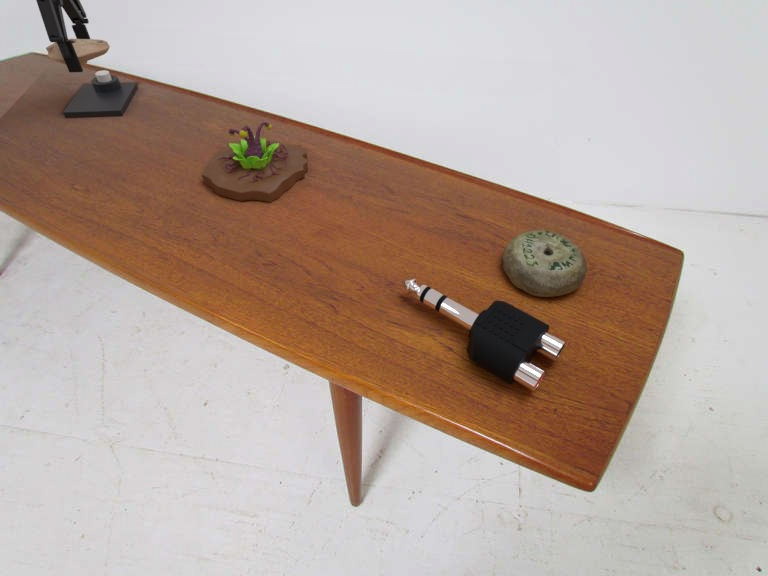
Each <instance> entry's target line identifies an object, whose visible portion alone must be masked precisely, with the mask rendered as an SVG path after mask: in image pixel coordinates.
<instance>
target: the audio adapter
mask: <svg viewBox="0 0 768 576" xmlns="http://www.w3.org/2000/svg"><path fill="white" fill-rule="evenodd" d="M401 285H402V286H403V288H404V291H405V293H406V295H412V294H415V300H417V301H418V302H420V303H422V304H423V305H425V306H426V307H429V308H430V309H432V310H433V311H436V312H437V313H439V314H441V316H444V317H446V318H447V319H449V320H451V321H453V322H455V323H456V324H458V325H460V326H461V327H463V328H465V329H466V330H468V331H469V332H468V342H467V346H466V352H467V357H468V359H469V360H470V361H471V362H473V363H475V364H476V365H478V366H479V367H481V368H483V369H484V370H486V371H487V372H489V373H491V374H493V375H494V376H496V377H497V378H499V379H500V380H502V381H504V382H505V383H507V384H509V385H512V384H513V383H514V382H517V383H518V384H520V385H522V386H524V387H525V388H527V389H528V390H530V391H531V392H535V390H536V389H537V388H538V387H539V385H540V383H541V382H542V380H543V378H544V376H545V373H546V371H545V370H544V369H542V368H541V367H539V366H537V365H535V364H533V363H532V362H530V361H531V360H532V359H533V358H534V356H535V355H536V353H539V354H541V355H542V356H544V357H546V358H548V359H549V360H551V361H553V362H556V361H557V359H559V356H561V354H562V352H563V350H564V348H565V346H566V344H567V342H566V341H565V340H563V339H562V338H560V337H557V336H556V335H554V334H552V333H550V332H549V330H550V324H548V323H546V322H544V321H542V320H540V319H539V318H536V317H535V316H533V315H531V314H529V313H527V312H526V311H523V310H521V308H520V309H519V308H518V307H516V306H514V305H513V304H510V303H509V302H506V301H503V300H494V301H493V302H492V303H491V304H490V305H489V306H488V307H487V308H486V309H483V310H482V311H481V312H480V313H478V312H476V311H474V310H473V309H471V308H469V307H468V306H465V305H464V304H462V303H460V302H458V301H457V300H456V299H455V300H454V299H453V298H451V297H449V296H447V295H446V294H444V293H442V292H440V291H438V290H437V289H435V288H433V287H431V286H430V285H428V284H425V283H424V284H422V285H419V284H418V279H417V278H409V279H403V280H401Z"/></svg>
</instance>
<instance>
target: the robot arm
mask: <svg viewBox="0 0 768 576" xmlns="http://www.w3.org/2000/svg"><path fill="white" fill-rule="evenodd" d="M35 1H36V3H37V6H38V10H39V12H40V16H41V19H42V22H43V26H44V28H45V31H46V35H47V37H48V40H49V42H50V43H55V42H57V44H58V47H59V49H60V51H61V54H62V56H63V58H64V61H65V63H66V64H65V65H66V68H67V71H68V72H69V73H83V72H84V68H83V67H82V66H83V65H81V64H80V62H79V59H78V57H77V54H76V52H75V49H74V47H73V44H72V42H71V40H68V39H69V37H68V33H67V29H66V28H67V27H66V23H65V19H64V13H63V11H64V12H65V13H66V15H67V17H68V18H69V21H71V23H72V25H71V28H72V31H73V33H74V35H75V39H91V36H90V34H89V31H88V29H87V26H86V25H88V24H89V23H90V22H89V18H87V13H86V11H85V8H84V7H83V5H82V2H81V0H35Z"/></svg>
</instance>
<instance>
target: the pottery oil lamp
mask: <svg viewBox="0 0 768 576" xmlns="http://www.w3.org/2000/svg"><path fill="white" fill-rule="evenodd" d="M68 40H71V42H72V44H73V47H74V49H75V52H76V54H77V57H78V59H79V62H80V64H81V66H84V65H86V64H88V62H89V61H91V60H94V59H96V58H99V57H101V56H104V55H105V54H107V53H108V51H109V49H110V47H111V46H110V44H109V43H108V41H106V40H103V39H94V38H90V39H77V38H68ZM45 50H46V51H47V56H48V58H49V59H51V60H53V61H55V62H58V63H60V64H62V65H66V63H65V61H64V58H63V56H62V54H61V51H60V49H59V47H58V44H57V42H52V44H50V45H48V46H46V47H45Z"/></svg>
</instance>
